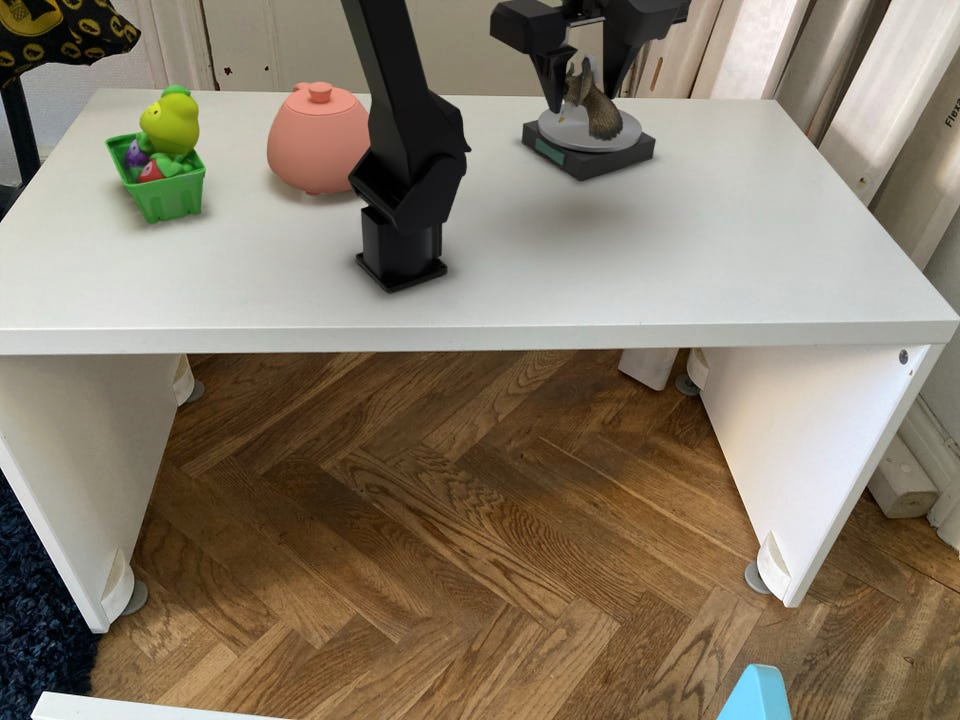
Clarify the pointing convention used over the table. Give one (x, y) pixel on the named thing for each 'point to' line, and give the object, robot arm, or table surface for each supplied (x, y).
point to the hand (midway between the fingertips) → (582, 105)
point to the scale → (586, 154)
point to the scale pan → (586, 131)
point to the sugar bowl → (318, 138)
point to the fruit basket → (163, 158)
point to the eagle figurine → (591, 101)
